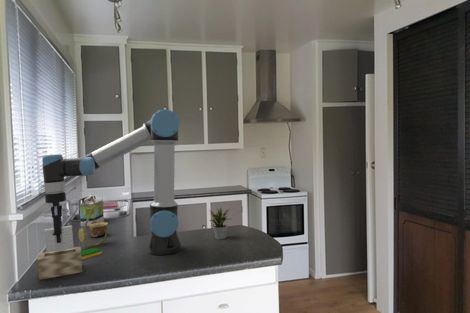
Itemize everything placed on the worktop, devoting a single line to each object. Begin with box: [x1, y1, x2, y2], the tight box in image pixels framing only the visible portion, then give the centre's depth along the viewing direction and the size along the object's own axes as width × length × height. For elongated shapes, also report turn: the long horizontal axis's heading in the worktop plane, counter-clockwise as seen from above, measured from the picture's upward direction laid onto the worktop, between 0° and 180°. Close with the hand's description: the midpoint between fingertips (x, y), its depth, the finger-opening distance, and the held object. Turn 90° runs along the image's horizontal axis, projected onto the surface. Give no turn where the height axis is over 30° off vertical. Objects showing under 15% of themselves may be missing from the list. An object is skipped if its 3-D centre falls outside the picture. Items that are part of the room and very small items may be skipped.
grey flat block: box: [44, 224, 75, 253], centre depth 150 cm, size 10×3×9 cm, turn 113°
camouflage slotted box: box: [37, 245, 83, 281], centre depth 150 cm, size 16×10×8 cm
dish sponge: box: [81, 247, 103, 261], centre depth 170 cm, size 7×14×2 cm, turn 142°
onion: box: [89, 221, 108, 238], centre depth 208 cm, size 10×9×10 cm
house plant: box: [208, 207, 232, 240], centre depth 187 cm, size 14×14×16 cm
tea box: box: [79, 199, 105, 227], centre depth 243 cm, size 15×10×15 cm, turn 179°
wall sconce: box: [78, 197, 109, 247], centre depth 187 cm, size 14×10×25 cm
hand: (59, 249), depth 150 cm, fingers closed on grey flat block, 3 cm apart
